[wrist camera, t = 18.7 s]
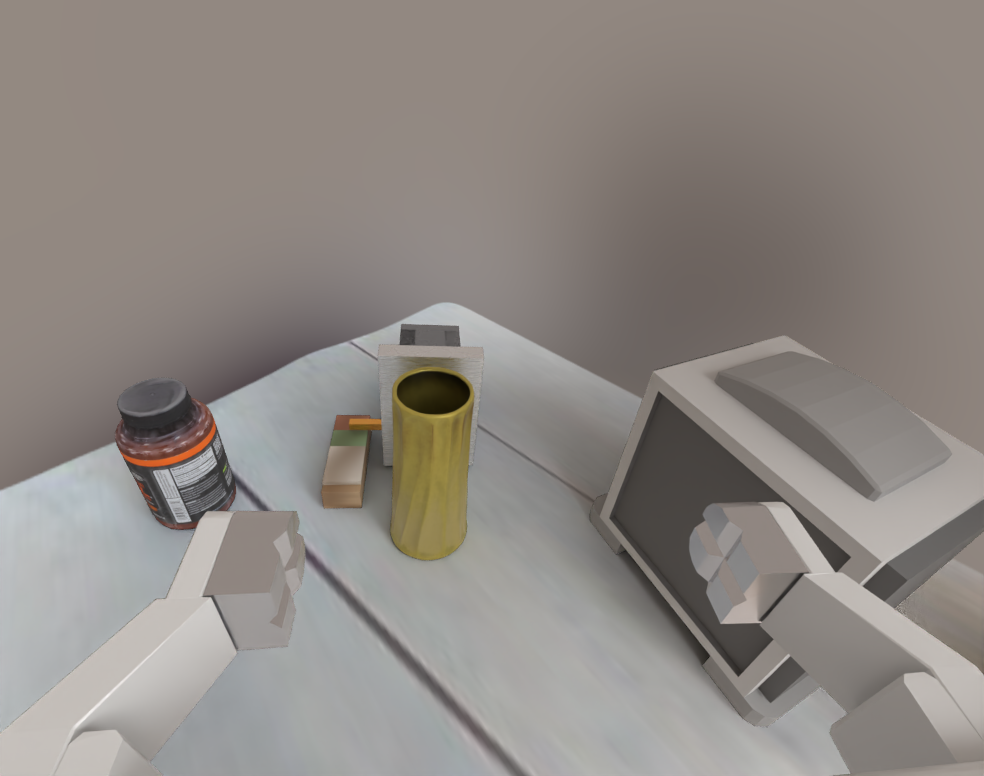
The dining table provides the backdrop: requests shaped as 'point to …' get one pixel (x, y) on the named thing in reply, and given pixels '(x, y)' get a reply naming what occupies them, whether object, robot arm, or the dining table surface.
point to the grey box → (785, 492)
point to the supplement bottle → (174, 452)
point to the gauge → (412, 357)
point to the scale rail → (346, 465)
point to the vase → (430, 461)
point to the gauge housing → (429, 335)
